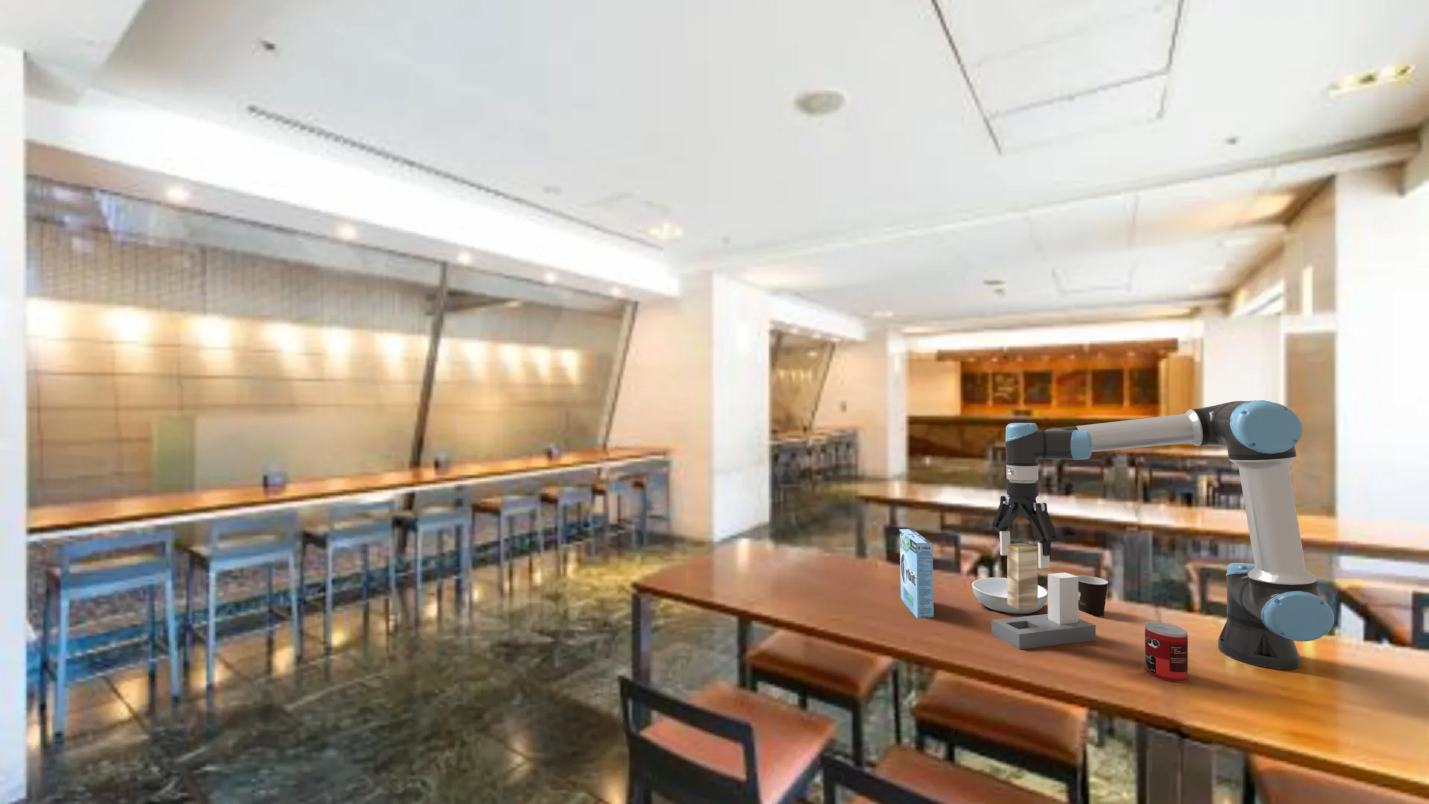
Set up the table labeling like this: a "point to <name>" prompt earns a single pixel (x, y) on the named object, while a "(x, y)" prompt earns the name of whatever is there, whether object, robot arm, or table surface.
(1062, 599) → the white plug
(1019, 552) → the beech plug
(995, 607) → the serving bowl
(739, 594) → the table surface
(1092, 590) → the coffee mug
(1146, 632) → the canned food
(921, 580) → the gum box
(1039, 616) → the grey peg board
